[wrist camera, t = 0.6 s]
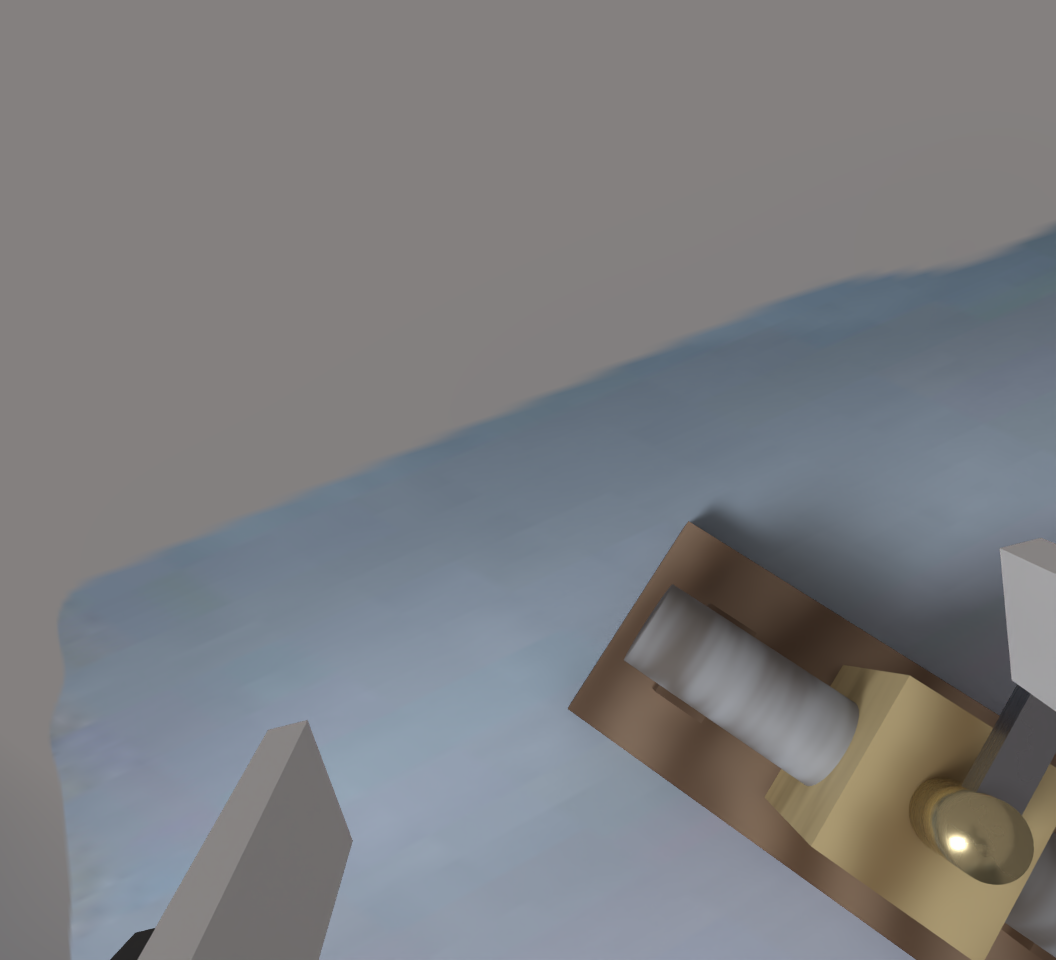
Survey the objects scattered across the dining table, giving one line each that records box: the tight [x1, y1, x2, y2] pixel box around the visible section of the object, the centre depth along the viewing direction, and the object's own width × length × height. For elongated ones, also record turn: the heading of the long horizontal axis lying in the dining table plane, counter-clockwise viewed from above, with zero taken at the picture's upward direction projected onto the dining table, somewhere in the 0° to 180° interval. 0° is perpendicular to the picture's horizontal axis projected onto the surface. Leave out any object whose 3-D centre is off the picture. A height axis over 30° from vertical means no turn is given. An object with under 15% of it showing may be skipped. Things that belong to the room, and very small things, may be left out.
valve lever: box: [909, 684, 1056, 885], centre depth 29 cm, size 3×18×3 cm, turn 146°
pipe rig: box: [568, 521, 1056, 960], centre depth 36 cm, size 32×14×12 cm, turn 56°
